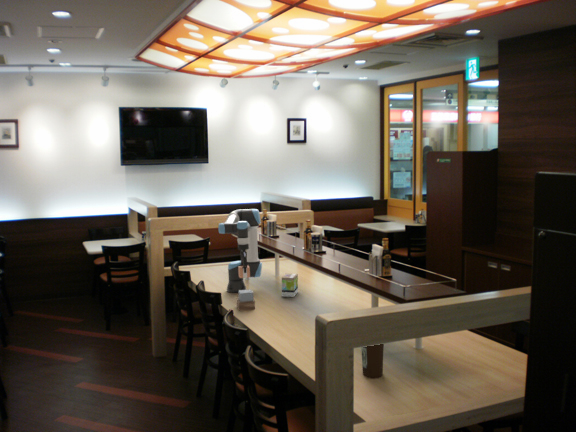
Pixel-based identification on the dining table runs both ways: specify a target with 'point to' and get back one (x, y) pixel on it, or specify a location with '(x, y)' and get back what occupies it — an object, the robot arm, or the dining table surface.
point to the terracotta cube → (242, 271)
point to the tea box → (289, 285)
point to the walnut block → (245, 305)
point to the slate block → (245, 295)
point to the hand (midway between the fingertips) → (244, 276)
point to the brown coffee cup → (372, 361)
